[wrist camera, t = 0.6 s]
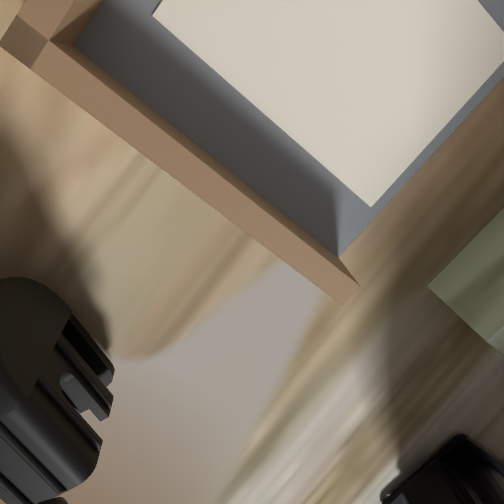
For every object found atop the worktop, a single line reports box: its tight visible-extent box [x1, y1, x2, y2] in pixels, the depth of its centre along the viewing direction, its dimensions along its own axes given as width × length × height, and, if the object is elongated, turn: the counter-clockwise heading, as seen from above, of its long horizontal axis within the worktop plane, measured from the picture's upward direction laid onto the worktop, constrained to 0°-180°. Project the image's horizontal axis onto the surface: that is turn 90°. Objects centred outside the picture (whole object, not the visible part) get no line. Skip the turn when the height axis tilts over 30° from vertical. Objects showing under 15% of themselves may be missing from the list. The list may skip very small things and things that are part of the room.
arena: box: [0, 0, 504, 305], centre depth 16 cm, size 14×14×4 cm
